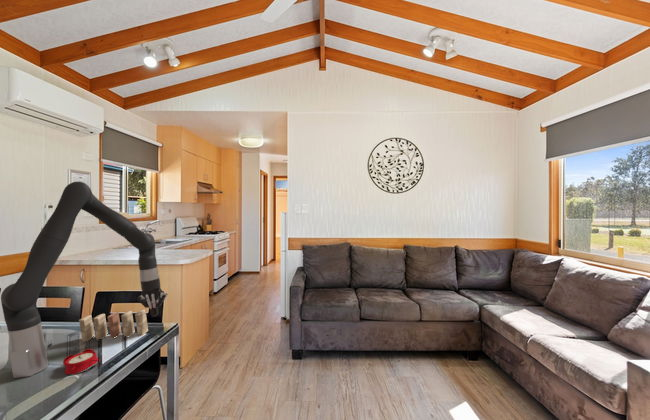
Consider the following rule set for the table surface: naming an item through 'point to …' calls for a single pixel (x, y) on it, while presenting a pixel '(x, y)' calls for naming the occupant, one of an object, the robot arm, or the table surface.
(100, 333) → the domino
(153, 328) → the table surface
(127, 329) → the domino
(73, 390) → the table surface
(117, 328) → the gap domino
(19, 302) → the robot arm
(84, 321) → the domino
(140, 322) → the domino
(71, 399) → the table surface
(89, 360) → the alarm clock
